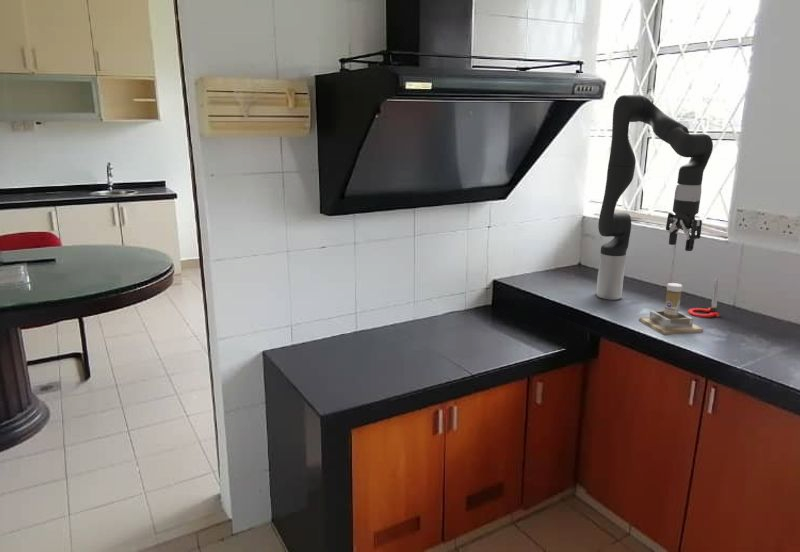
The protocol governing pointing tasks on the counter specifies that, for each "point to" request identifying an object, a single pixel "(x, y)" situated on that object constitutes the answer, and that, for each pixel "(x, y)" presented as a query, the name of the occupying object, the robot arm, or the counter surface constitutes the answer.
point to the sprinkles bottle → (672, 300)
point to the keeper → (670, 323)
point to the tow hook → (712, 309)
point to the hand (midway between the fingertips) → (680, 247)
